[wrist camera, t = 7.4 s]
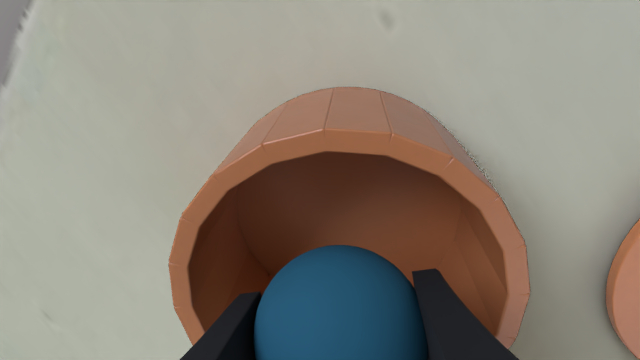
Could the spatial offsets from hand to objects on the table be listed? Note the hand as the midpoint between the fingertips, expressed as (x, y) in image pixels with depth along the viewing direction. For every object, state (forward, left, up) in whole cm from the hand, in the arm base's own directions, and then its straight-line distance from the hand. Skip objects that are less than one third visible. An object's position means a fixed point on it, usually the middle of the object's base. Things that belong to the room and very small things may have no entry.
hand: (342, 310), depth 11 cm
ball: (0, 0, +1) cm, 1 cm away
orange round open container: (0, 0, -6) cm, 6 cm away
